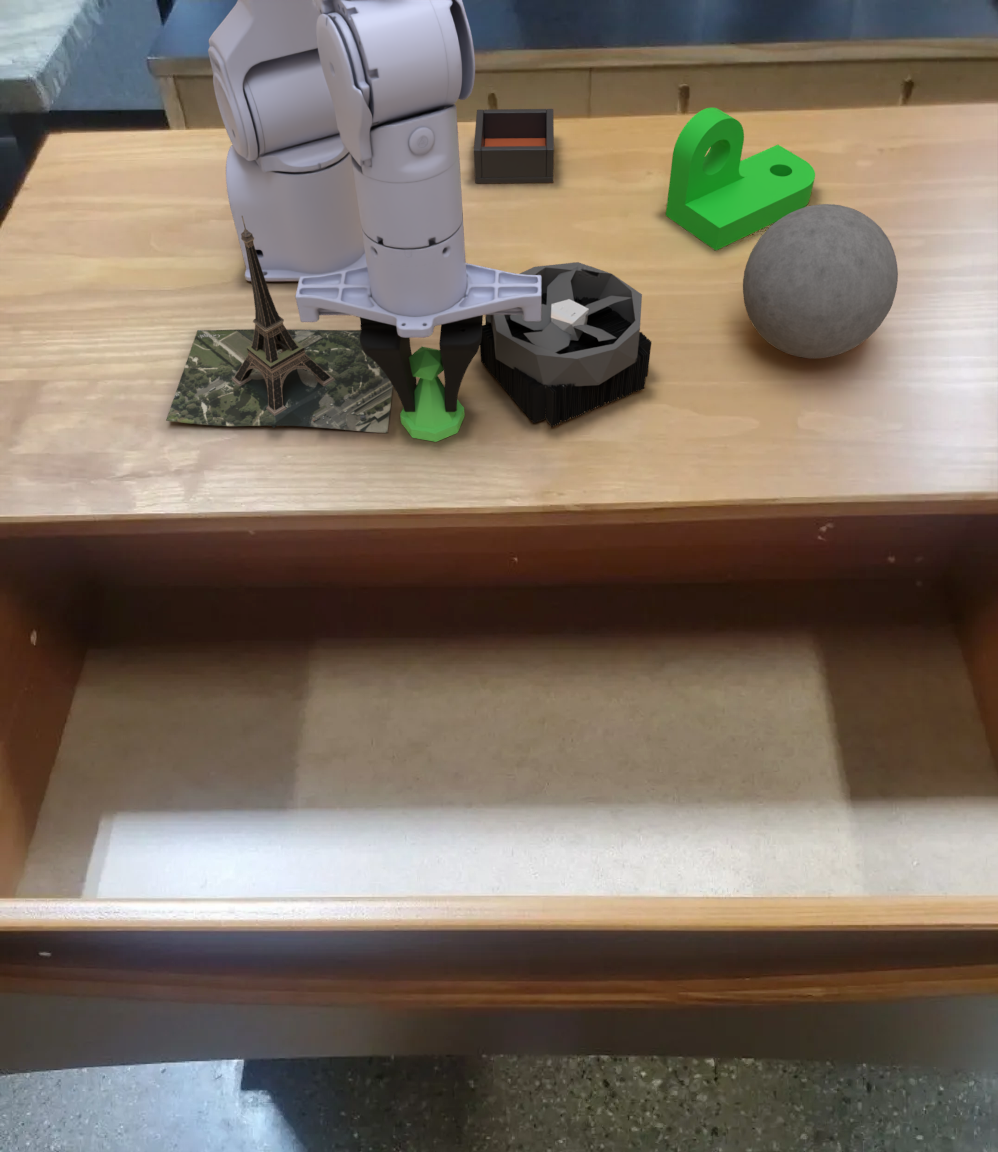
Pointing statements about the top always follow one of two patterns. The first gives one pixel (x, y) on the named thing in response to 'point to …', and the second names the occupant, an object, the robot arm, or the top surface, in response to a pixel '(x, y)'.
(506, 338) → the cpu cooler
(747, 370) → the top surface
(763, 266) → the decorative ball
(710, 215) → the mechanical part
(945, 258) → the top surface
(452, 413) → the game piece
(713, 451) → the top surface
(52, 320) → the top surface
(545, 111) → the pad holder
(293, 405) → the eiffel tower figurine
